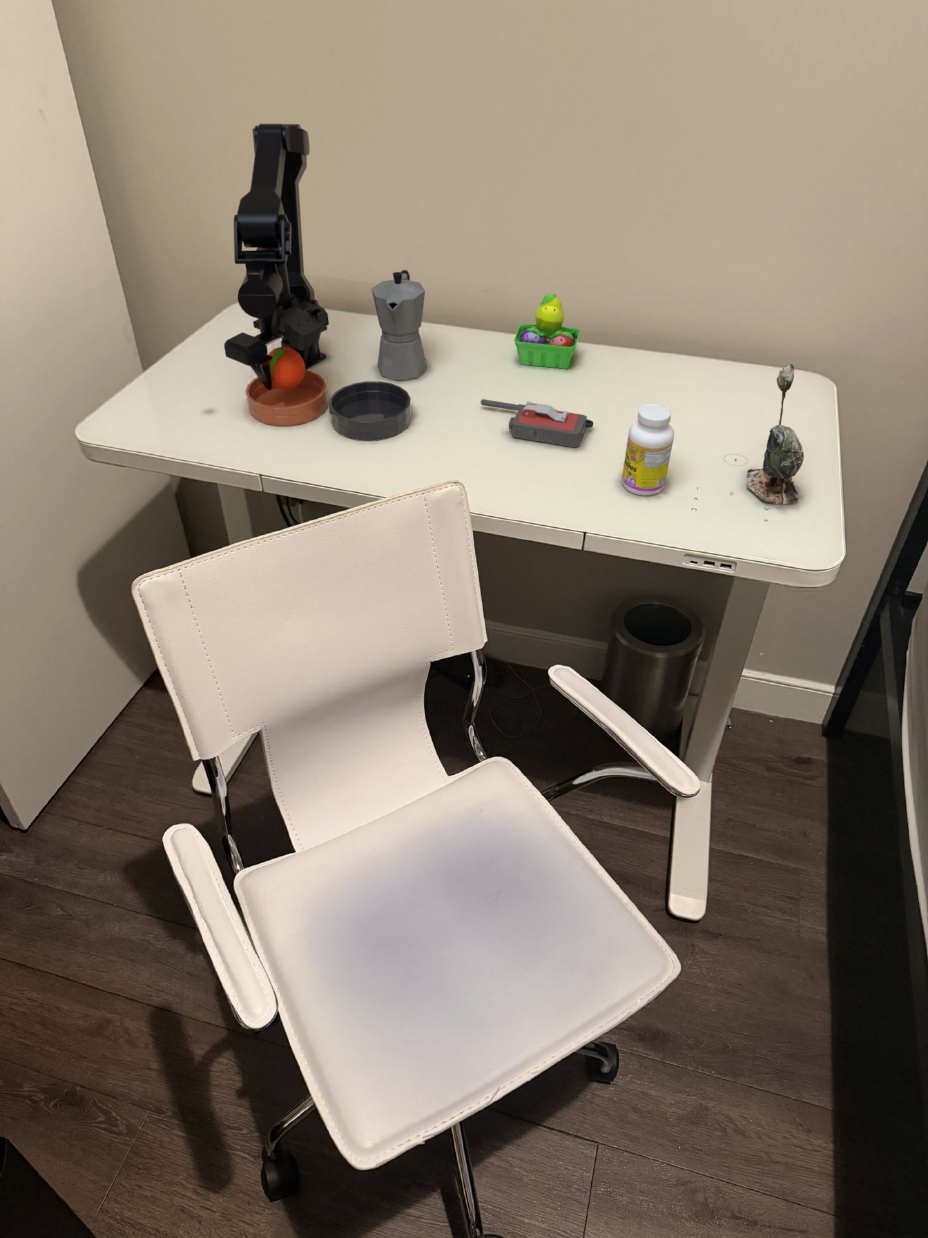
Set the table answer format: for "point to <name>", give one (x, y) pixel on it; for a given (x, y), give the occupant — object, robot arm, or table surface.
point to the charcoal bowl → (370, 410)
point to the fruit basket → (547, 337)
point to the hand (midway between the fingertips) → (285, 379)
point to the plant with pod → (779, 457)
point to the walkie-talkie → (544, 423)
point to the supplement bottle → (648, 450)
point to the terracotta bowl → (288, 401)
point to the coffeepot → (400, 327)
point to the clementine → (286, 368)
